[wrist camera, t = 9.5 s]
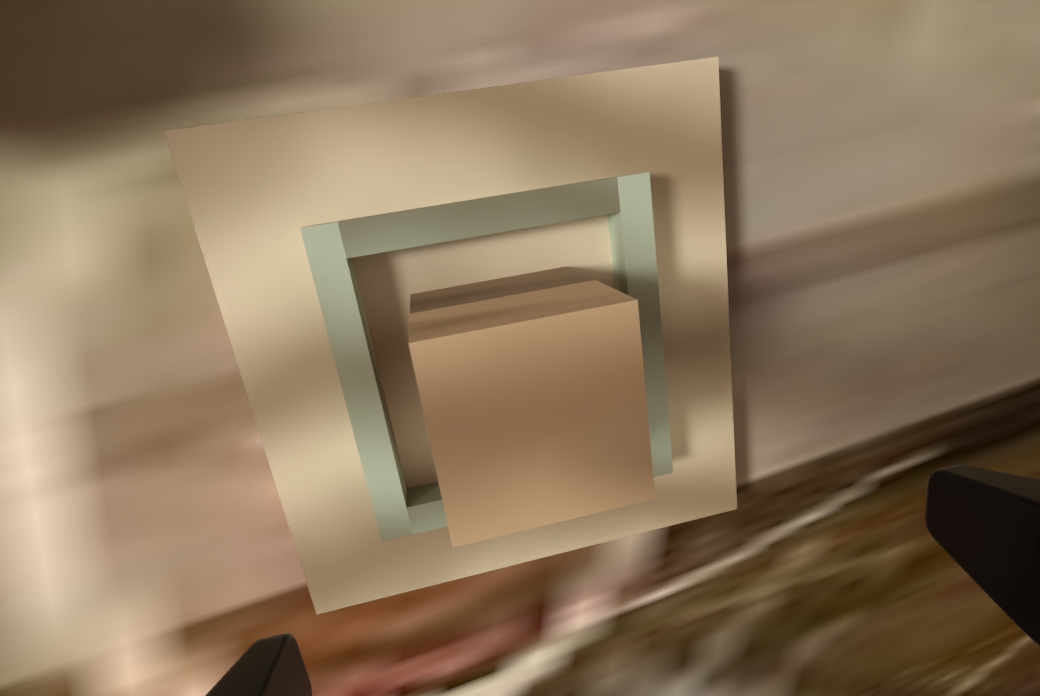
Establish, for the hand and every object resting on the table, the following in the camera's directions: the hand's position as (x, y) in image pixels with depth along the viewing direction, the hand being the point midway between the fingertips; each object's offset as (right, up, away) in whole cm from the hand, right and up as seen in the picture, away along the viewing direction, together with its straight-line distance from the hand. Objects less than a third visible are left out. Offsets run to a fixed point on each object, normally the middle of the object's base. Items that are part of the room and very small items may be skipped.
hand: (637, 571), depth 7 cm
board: (-2, +3, +12) cm, 12 cm away
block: (-2, +3, +11) cm, 11 cm away
